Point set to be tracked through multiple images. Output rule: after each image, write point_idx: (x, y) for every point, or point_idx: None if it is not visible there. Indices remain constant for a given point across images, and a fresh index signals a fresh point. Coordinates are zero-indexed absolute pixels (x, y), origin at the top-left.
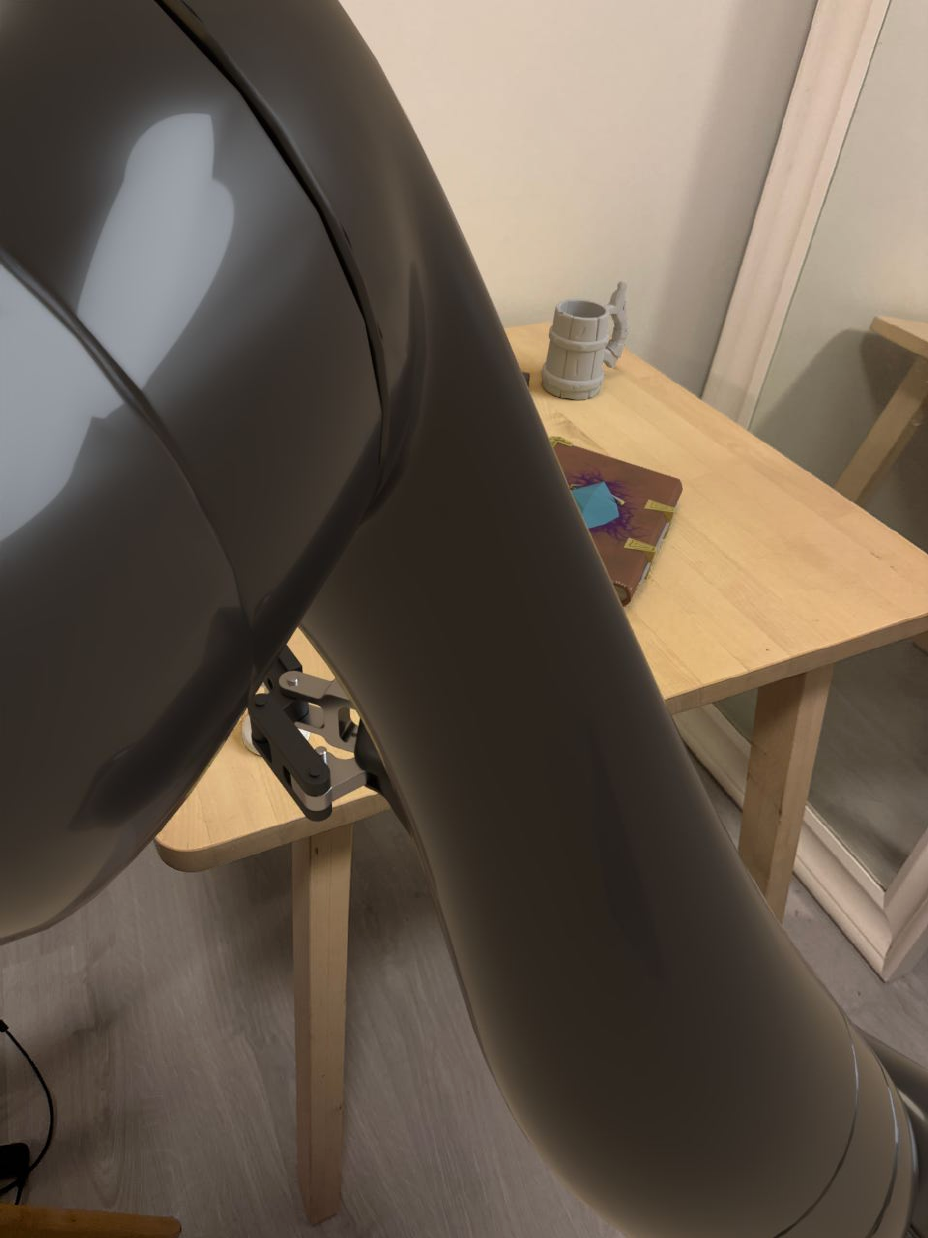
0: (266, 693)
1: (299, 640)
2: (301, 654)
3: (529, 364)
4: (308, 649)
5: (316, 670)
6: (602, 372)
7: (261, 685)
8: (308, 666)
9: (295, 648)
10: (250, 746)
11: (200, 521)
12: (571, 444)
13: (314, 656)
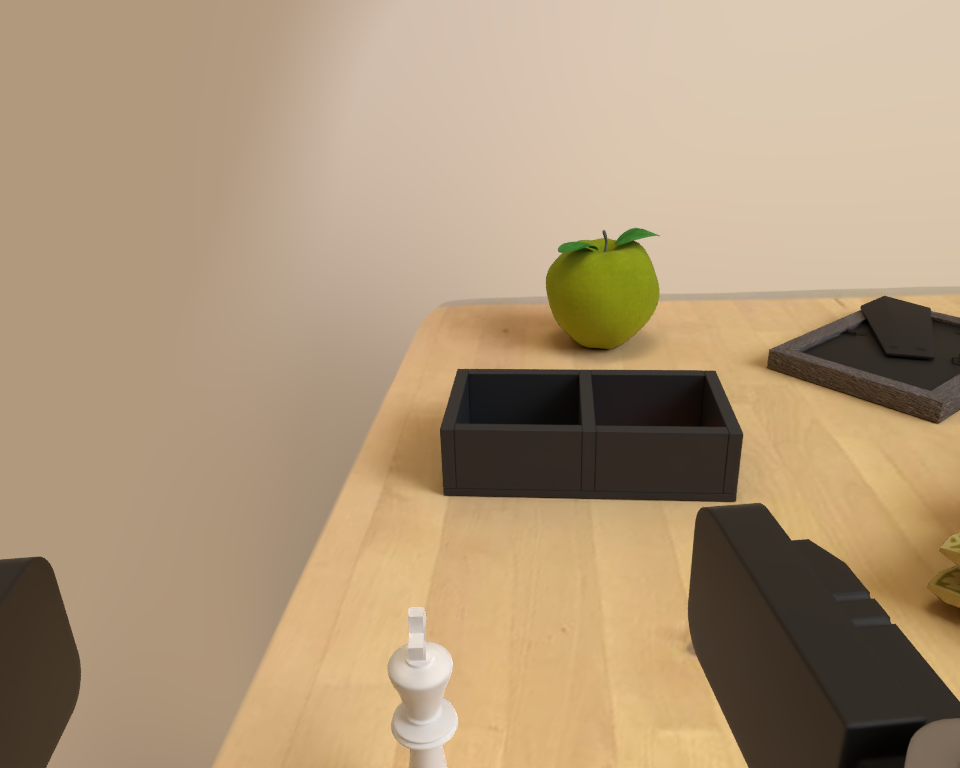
0: (411, 755)
1: (556, 658)
2: (549, 686)
3: None
4: (565, 680)
5: (563, 727)
6: None
7: (396, 735)
8: (552, 714)
9: (543, 671)
10: None
11: None
12: None
13: (570, 697)
